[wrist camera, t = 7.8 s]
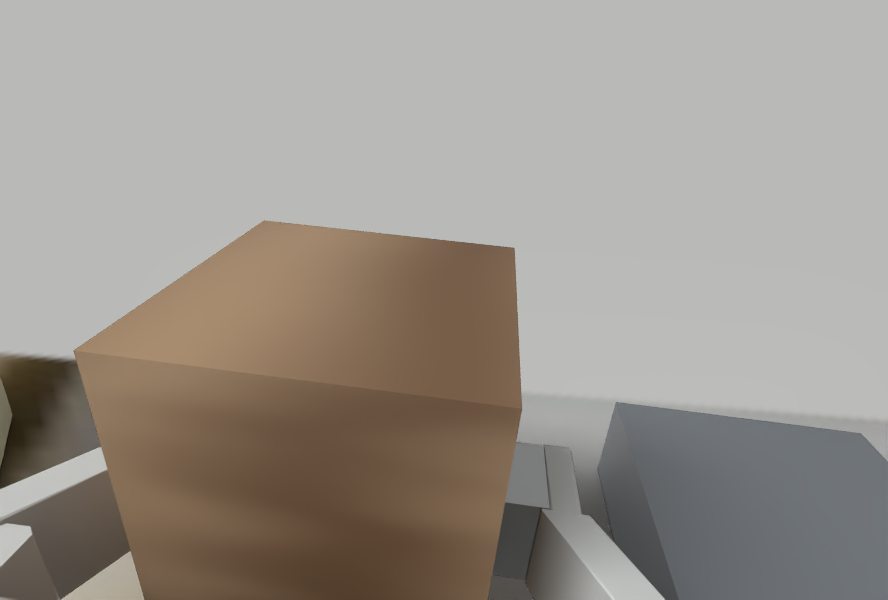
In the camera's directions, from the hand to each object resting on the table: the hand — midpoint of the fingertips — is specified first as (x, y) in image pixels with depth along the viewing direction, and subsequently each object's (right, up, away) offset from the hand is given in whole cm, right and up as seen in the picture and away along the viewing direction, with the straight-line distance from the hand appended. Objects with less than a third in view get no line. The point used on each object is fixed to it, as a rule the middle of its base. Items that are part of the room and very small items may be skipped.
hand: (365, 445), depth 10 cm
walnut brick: (-1, -6, +2) cm, 6 cm away
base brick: (+11, -5, +5) cm, 13 cm away
